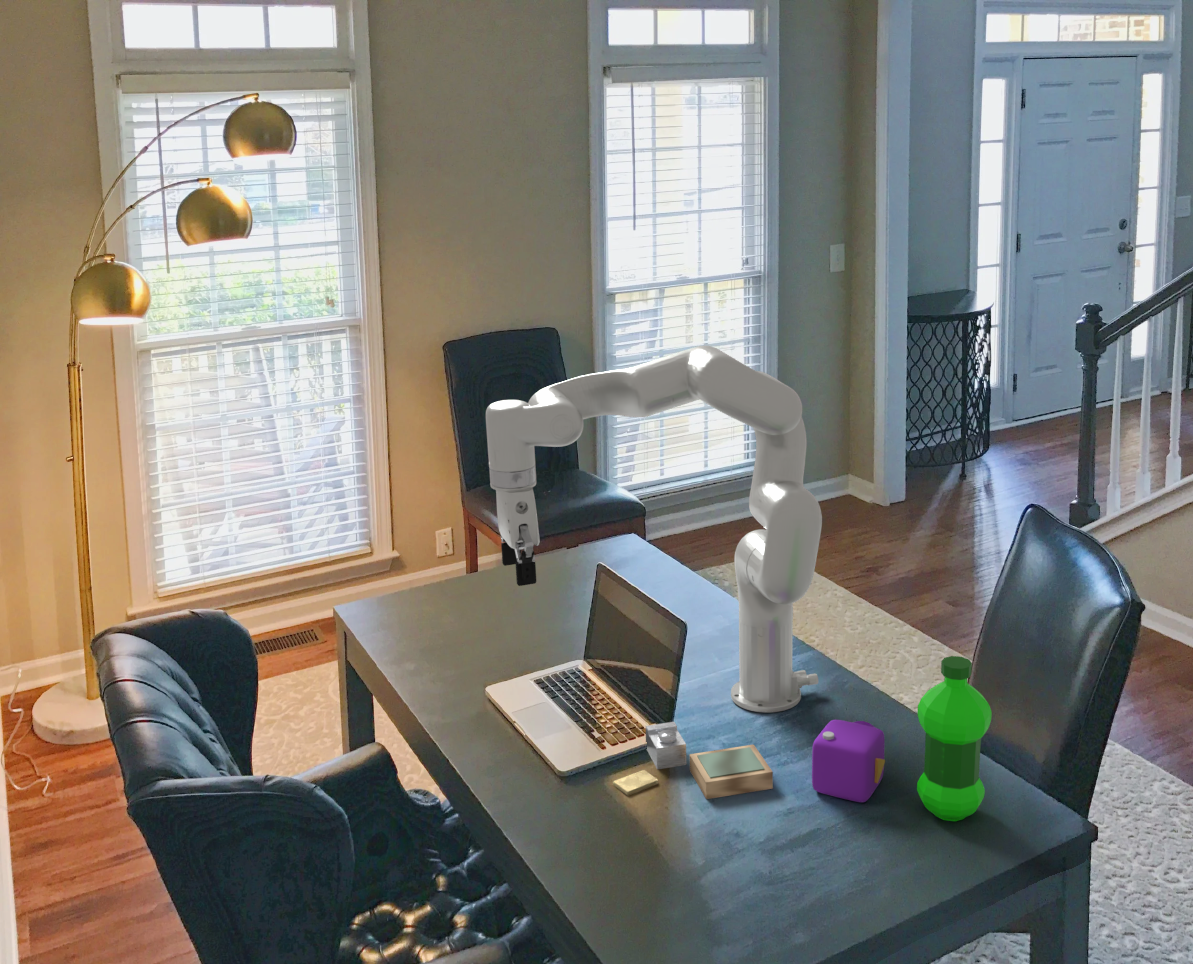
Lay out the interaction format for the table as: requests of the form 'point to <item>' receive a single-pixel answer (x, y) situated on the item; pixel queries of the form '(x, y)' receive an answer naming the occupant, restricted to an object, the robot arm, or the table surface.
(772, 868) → the table surface
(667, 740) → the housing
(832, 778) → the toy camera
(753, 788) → the picture frame
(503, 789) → the table surface
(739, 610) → the robot arm
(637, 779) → the cover plate
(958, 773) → the plastic bottle
